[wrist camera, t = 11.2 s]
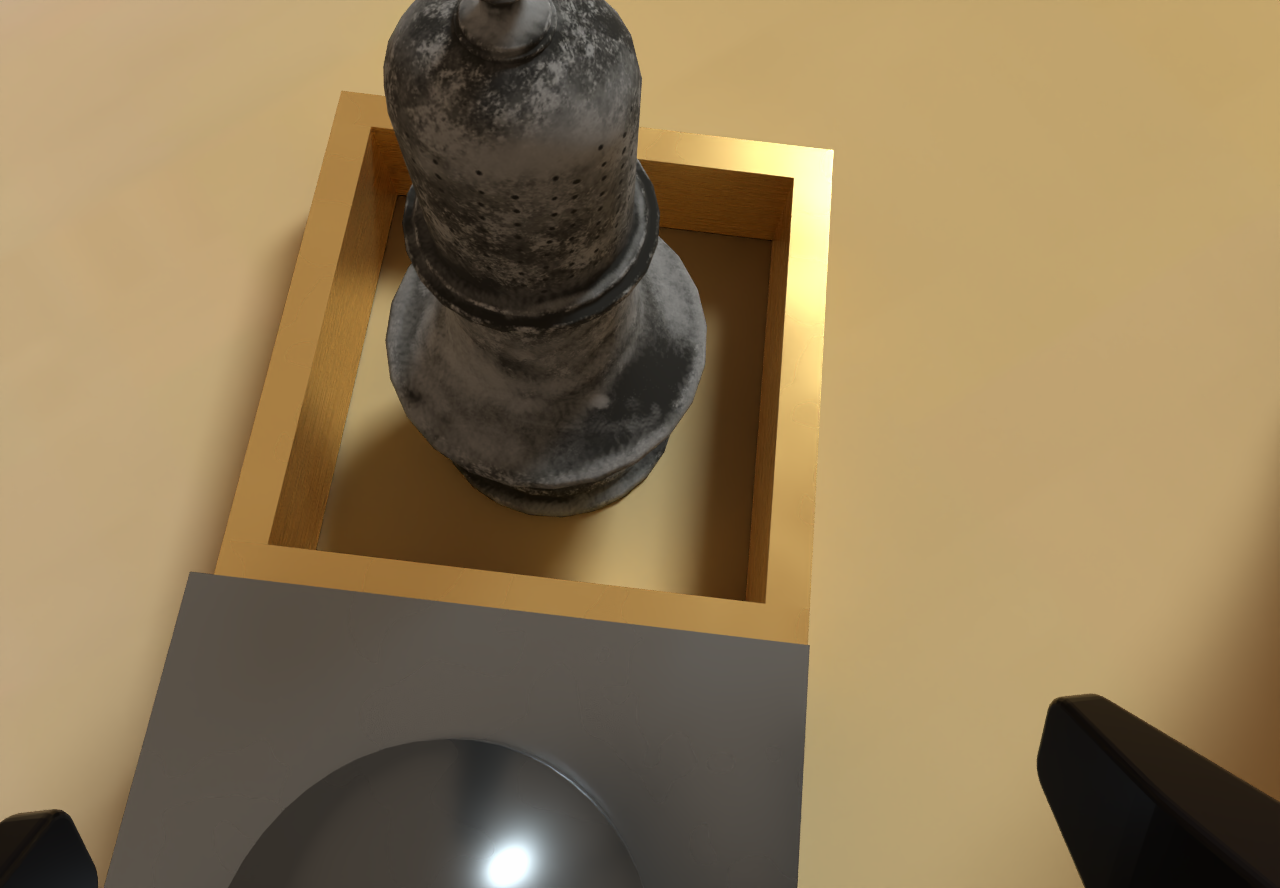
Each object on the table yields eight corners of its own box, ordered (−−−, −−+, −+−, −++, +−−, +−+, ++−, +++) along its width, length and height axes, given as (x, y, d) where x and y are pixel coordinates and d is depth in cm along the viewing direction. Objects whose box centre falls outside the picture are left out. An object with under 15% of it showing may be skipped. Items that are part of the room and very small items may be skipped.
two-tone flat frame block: (742, 1268, 15) (810, 1528, 10) (119, 1196, 15) (-114, 1422, 10) (807, 215, 21) (866, 67, 16) (371, 162, 21) (303, -2, 16)
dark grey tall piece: (423, 287, 20) (190, -286, 9) (677, 276, 20) (774, -286, 9) (422, 539, 18) (127, 234, 7) (700, 522, 19) (857, 207, 7)
